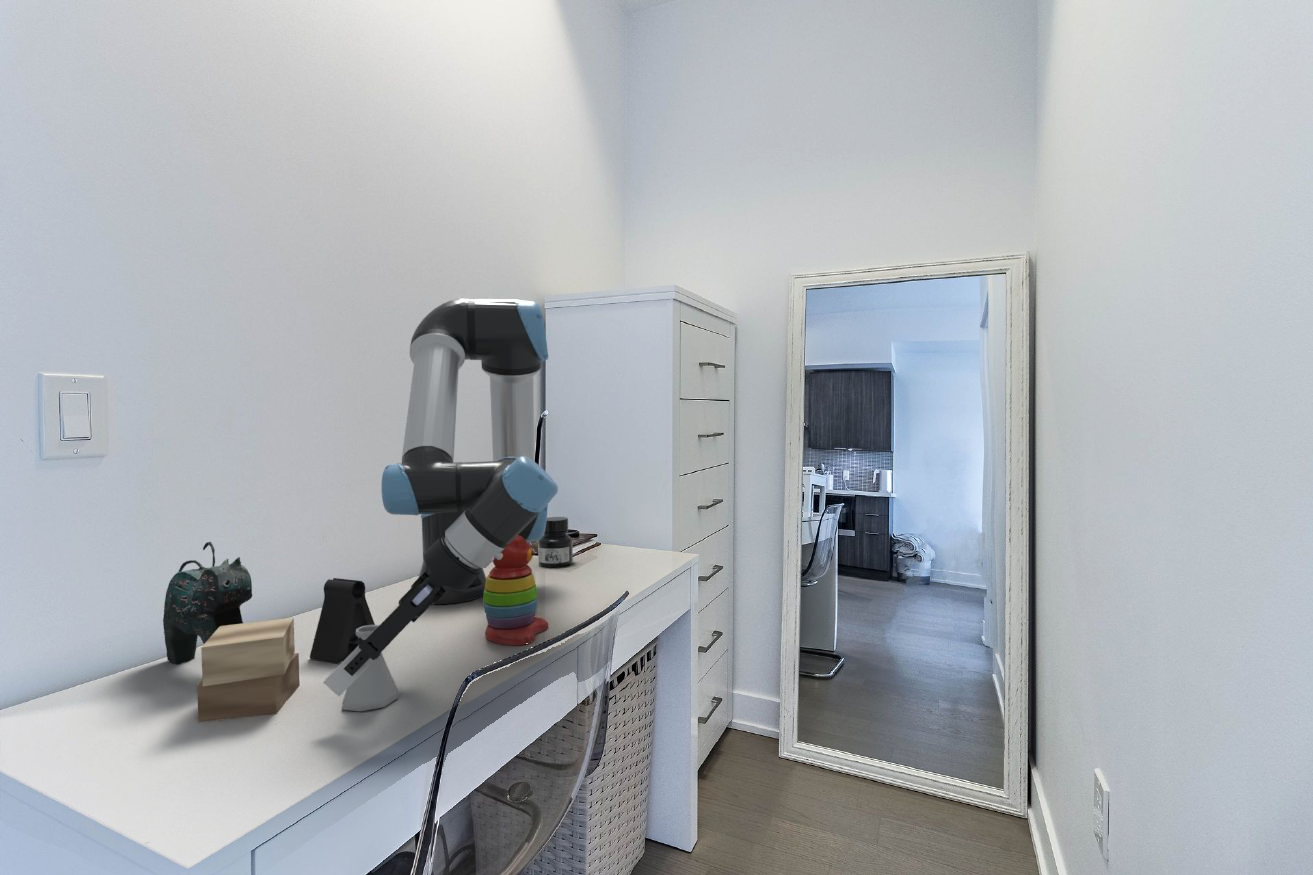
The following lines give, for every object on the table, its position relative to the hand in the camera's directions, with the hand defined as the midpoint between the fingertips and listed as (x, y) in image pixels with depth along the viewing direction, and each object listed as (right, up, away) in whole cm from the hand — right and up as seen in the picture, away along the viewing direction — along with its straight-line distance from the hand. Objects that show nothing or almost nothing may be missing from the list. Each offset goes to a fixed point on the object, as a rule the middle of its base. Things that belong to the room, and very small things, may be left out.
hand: (352, 667), depth 85 cm
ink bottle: (+15, -2, +80) cm, 82 cm away
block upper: (-14, 0, 0) cm, 14 cm away
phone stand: (-10, -5, +19) cm, 22 cm away
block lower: (-14, -5, 0) cm, 15 cm away
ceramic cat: (-29, -5, +13) cm, 32 cm away
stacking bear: (+16, -4, +26) cm, 31 cm away
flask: (+2, -5, 0) cm, 5 cm away
